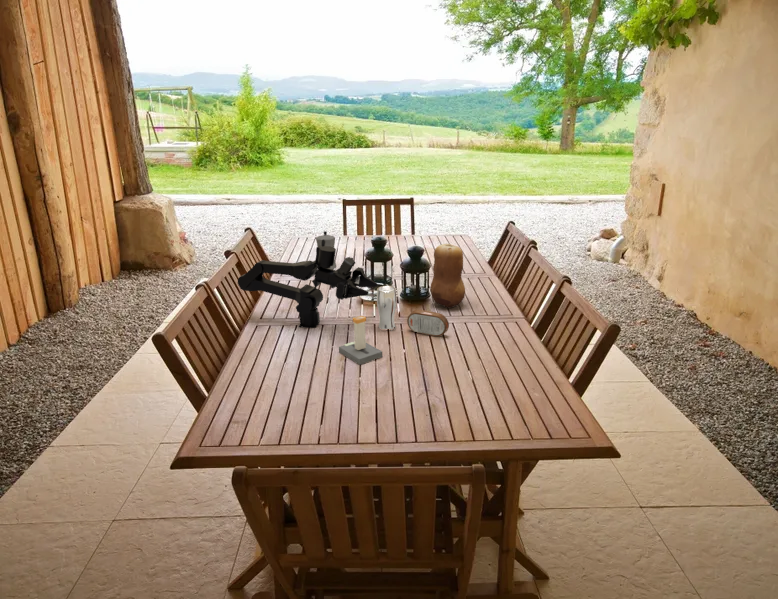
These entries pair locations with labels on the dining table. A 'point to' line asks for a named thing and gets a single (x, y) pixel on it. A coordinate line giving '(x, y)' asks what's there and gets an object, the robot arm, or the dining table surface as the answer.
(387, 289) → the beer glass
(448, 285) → the butternut squash
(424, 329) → the tin
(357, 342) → the lever
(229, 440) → the dining table surface
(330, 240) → the coffeepot
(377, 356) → the switch plate
